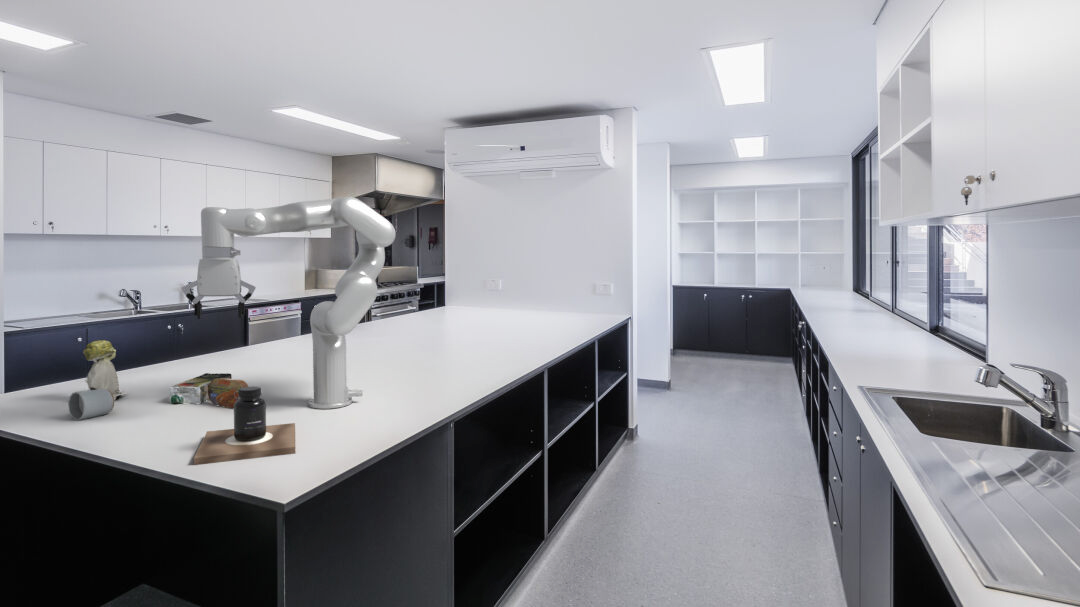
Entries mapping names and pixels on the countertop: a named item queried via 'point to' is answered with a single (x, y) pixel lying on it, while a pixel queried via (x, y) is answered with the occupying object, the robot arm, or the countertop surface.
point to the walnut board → (245, 445)
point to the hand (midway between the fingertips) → (220, 317)
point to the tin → (225, 391)
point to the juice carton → (194, 389)
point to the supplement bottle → (249, 415)
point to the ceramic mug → (90, 403)
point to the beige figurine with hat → (102, 367)
